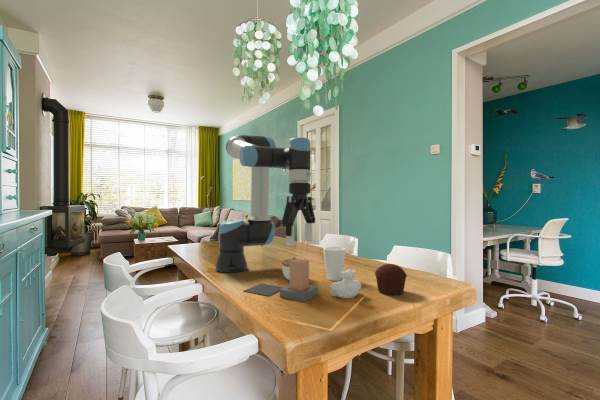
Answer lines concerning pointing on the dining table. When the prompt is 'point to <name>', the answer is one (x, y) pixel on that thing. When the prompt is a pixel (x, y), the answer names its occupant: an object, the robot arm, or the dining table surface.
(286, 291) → the holder
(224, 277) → the dining table surface
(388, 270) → the muffin
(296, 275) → the block
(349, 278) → the bust
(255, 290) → the mat
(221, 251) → the robot arm
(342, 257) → the foam cup
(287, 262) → the lidded jar
